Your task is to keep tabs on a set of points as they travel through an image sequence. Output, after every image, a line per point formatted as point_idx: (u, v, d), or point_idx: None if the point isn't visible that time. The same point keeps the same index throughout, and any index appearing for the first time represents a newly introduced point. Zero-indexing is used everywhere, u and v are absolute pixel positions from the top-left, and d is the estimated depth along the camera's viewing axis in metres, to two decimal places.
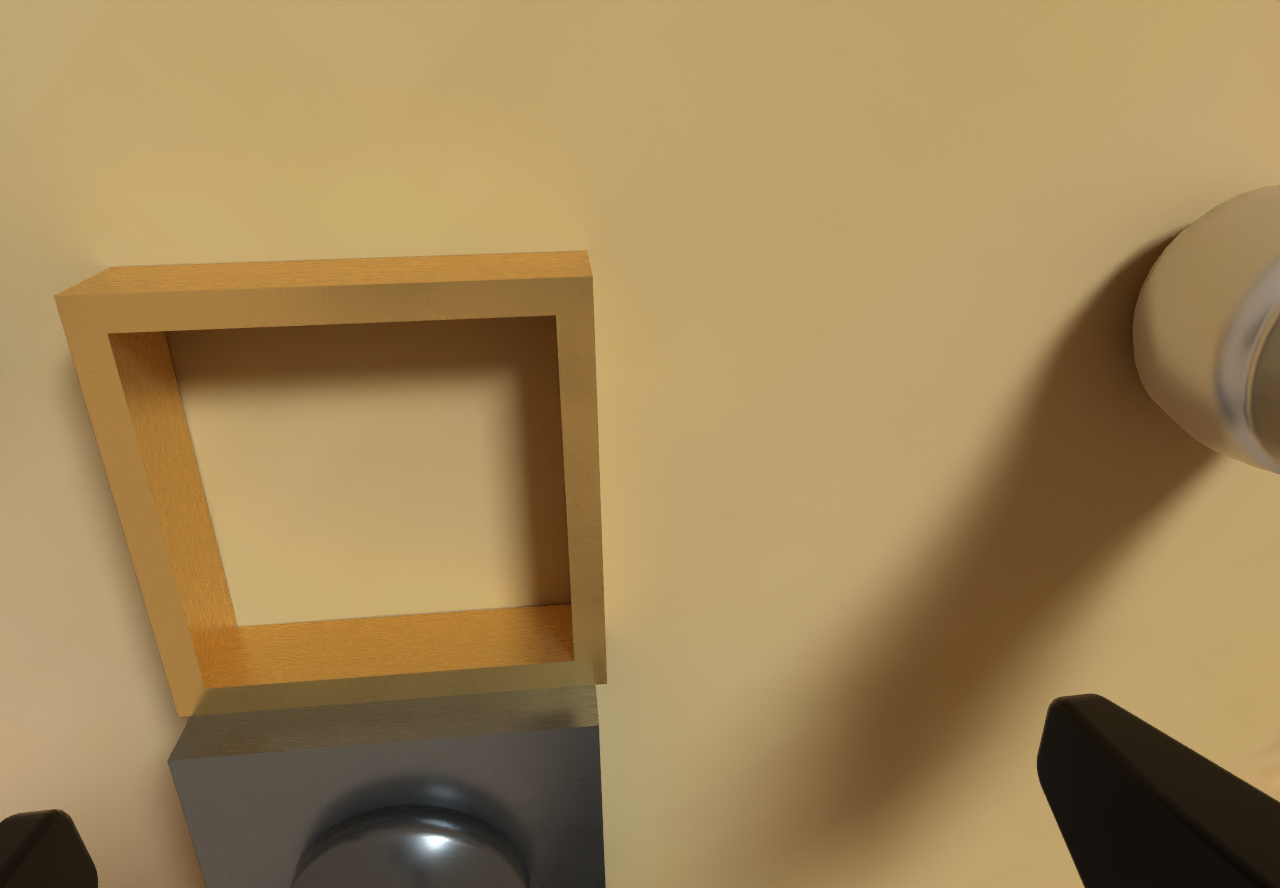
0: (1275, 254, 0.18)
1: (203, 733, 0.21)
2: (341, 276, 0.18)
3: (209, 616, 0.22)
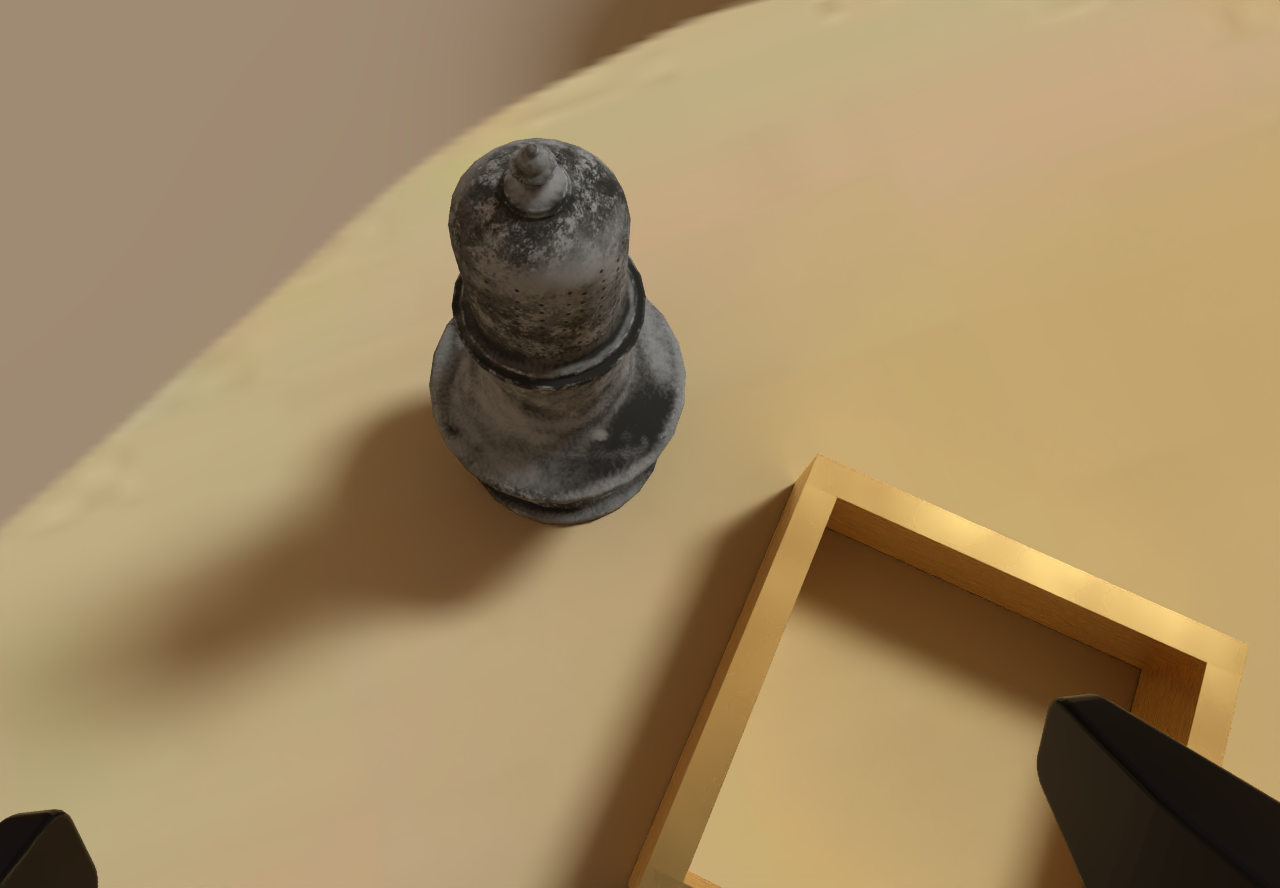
0: None
1: None
2: None
3: None
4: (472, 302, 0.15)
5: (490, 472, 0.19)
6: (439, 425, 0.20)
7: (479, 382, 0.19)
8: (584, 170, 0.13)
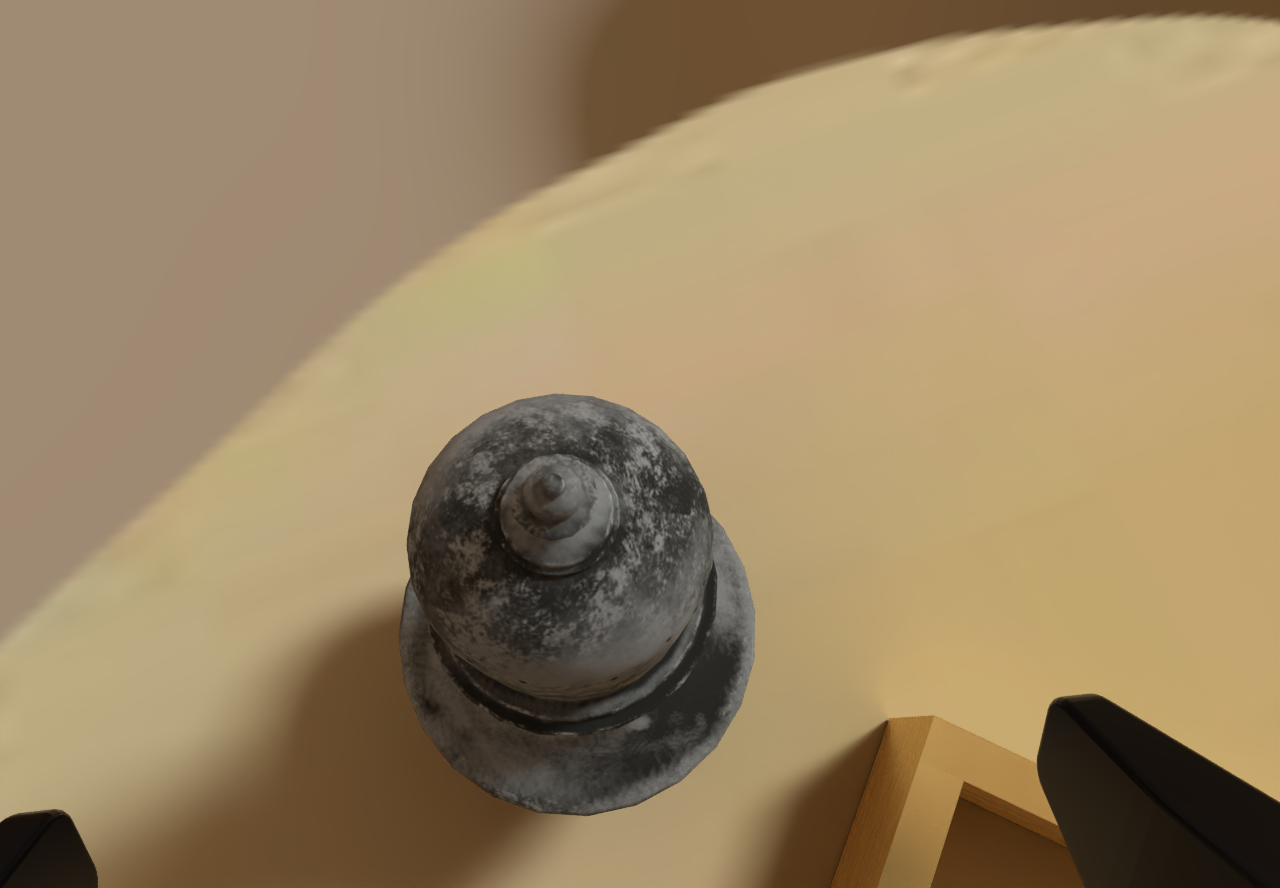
0: None
1: None
2: None
3: None
4: None
5: (483, 772, 0.14)
6: (412, 698, 0.14)
7: None
8: (640, 470, 0.08)
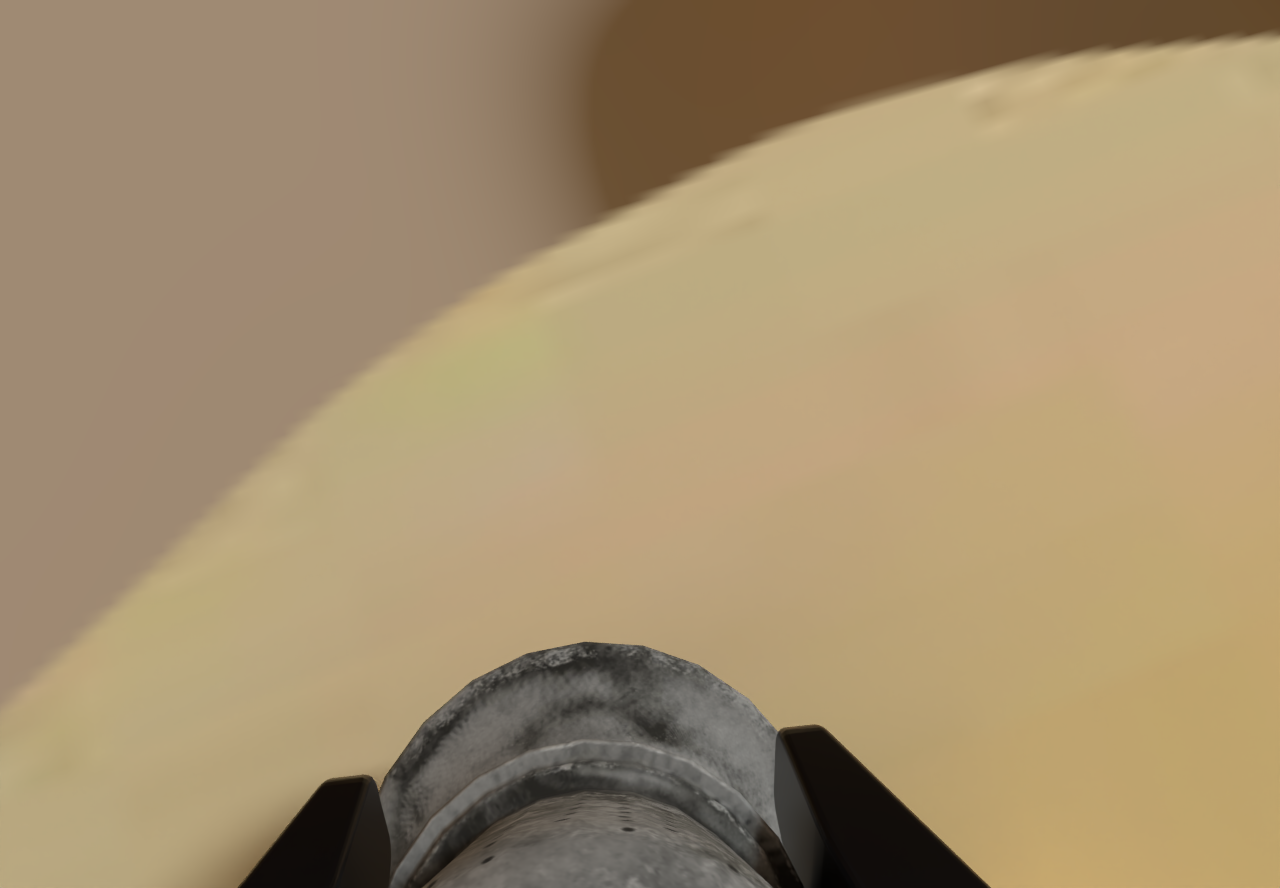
0: None
1: None
2: None
3: None
4: None
5: None
6: None
7: None
8: None
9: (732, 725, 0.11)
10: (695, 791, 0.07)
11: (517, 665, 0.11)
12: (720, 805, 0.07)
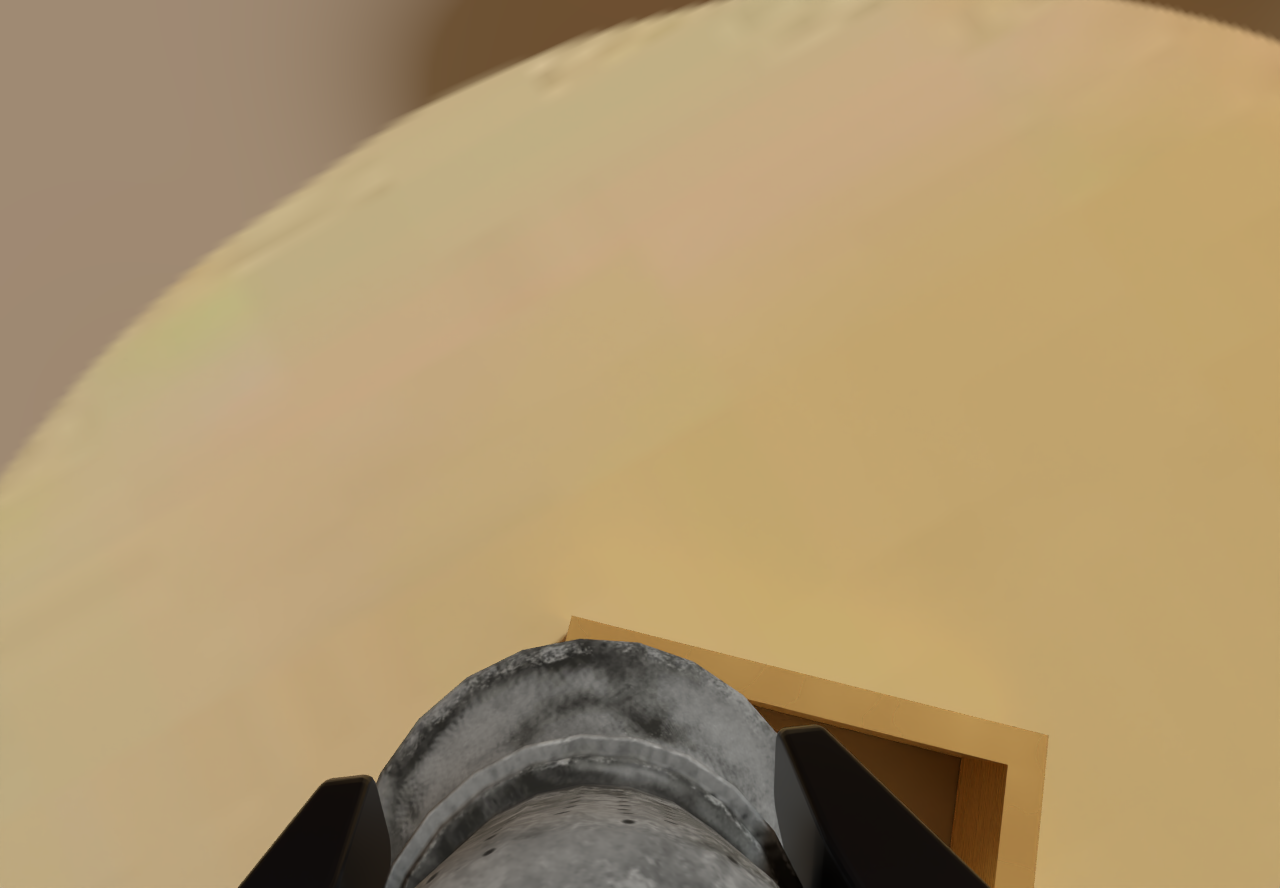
0: None
1: None
2: None
3: None
4: None
5: None
6: None
7: None
8: None
9: (727, 721, 0.11)
10: (692, 785, 0.07)
11: (512, 662, 0.11)
12: (717, 800, 0.07)
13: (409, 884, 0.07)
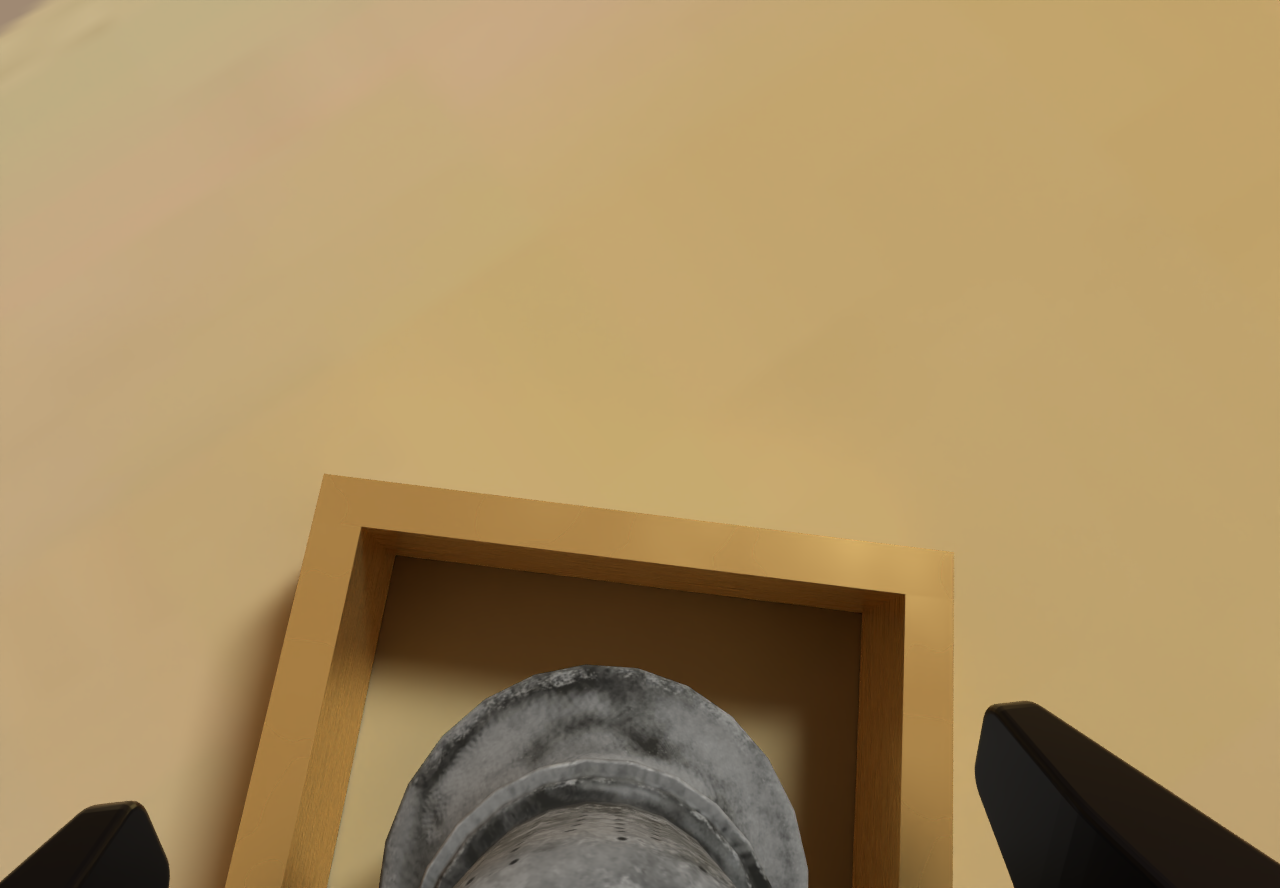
0: None
1: None
2: None
3: None
4: None
5: None
6: None
7: None
8: None
9: (717, 740, 0.12)
10: (680, 803, 0.09)
11: (526, 685, 0.13)
12: (700, 816, 0.09)
13: (441, 884, 0.08)
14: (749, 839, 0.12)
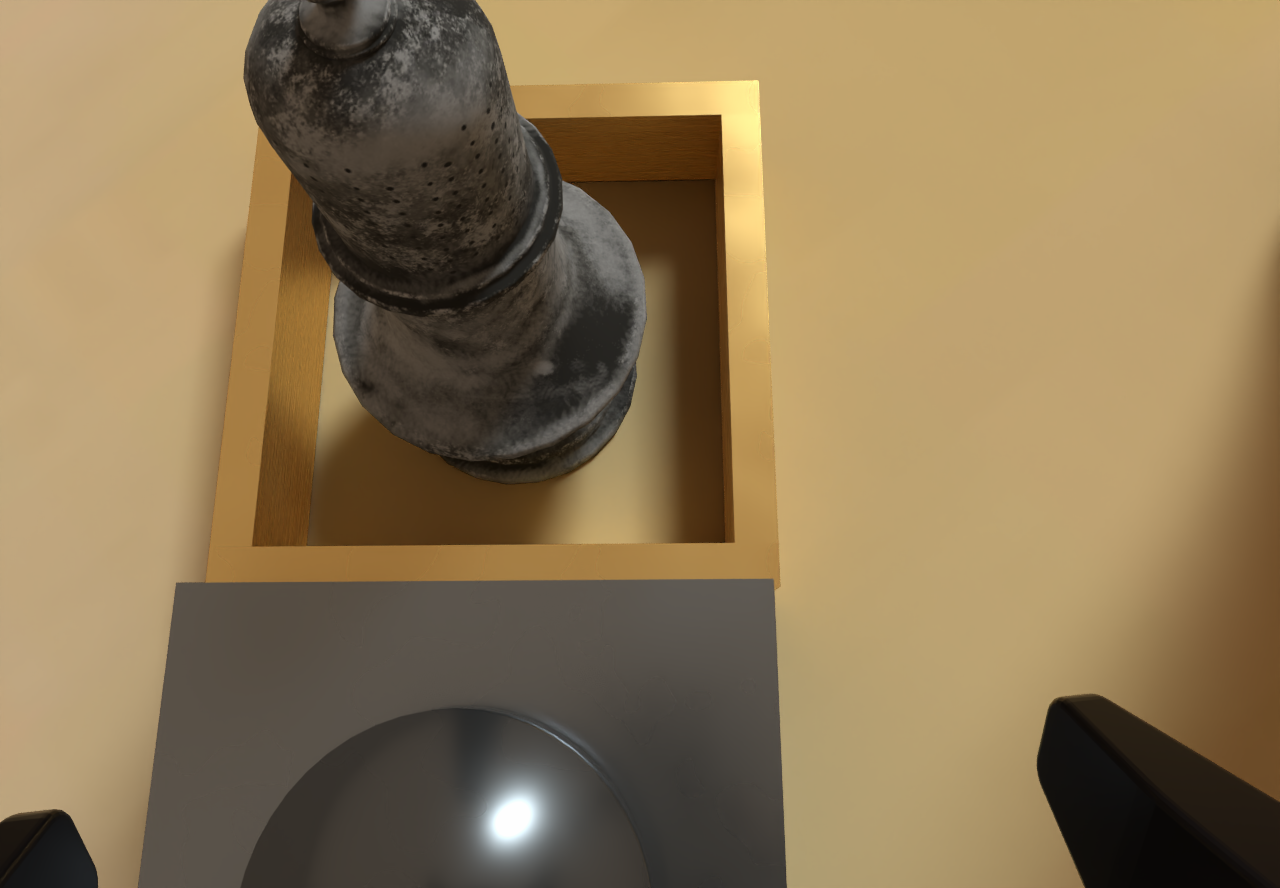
0: None
1: None
2: None
3: (284, 490, 0.18)
4: (316, 206, 0.11)
5: (417, 432, 0.16)
6: (350, 382, 0.16)
7: (387, 322, 0.15)
8: None
9: (568, 200, 0.17)
10: None
11: None
12: None
13: None
14: (594, 253, 0.16)
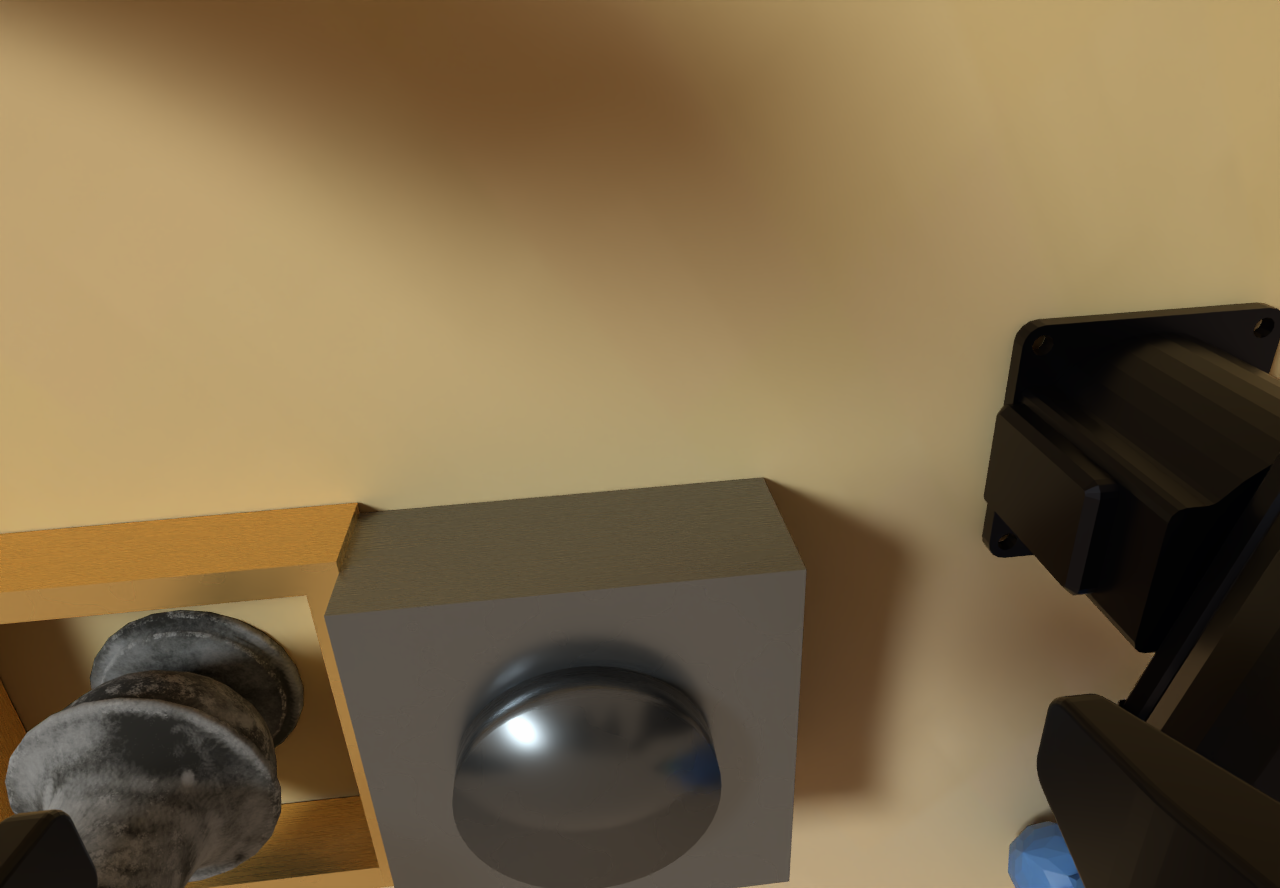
0: None
1: None
2: None
3: (339, 836, 0.24)
4: None
5: (266, 824, 0.21)
6: None
7: None
8: None
9: (26, 768, 0.19)
10: None
11: None
12: None
13: None
14: (71, 752, 0.19)
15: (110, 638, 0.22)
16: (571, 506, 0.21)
